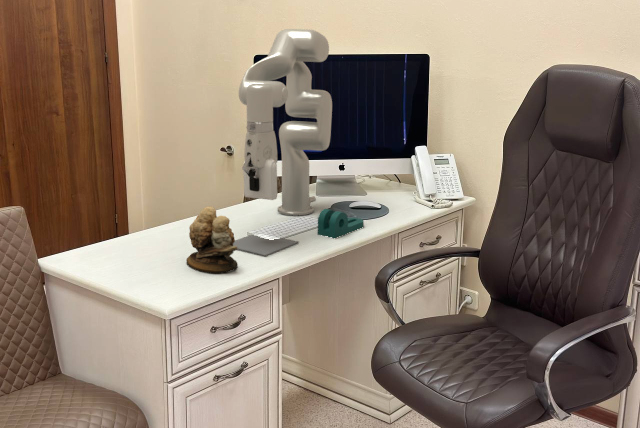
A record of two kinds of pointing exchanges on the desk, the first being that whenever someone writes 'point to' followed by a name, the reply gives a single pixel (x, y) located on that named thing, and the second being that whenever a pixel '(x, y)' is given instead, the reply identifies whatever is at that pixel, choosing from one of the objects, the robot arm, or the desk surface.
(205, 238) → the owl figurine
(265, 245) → the mat
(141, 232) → the desk surface
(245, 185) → the photo printer
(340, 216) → the bracket
